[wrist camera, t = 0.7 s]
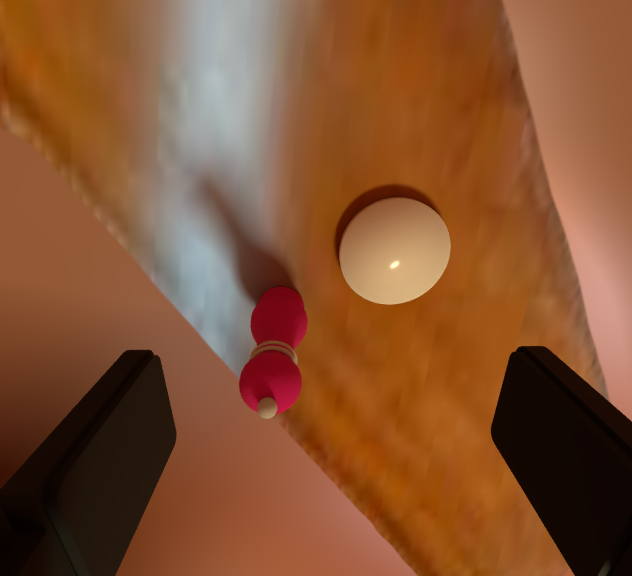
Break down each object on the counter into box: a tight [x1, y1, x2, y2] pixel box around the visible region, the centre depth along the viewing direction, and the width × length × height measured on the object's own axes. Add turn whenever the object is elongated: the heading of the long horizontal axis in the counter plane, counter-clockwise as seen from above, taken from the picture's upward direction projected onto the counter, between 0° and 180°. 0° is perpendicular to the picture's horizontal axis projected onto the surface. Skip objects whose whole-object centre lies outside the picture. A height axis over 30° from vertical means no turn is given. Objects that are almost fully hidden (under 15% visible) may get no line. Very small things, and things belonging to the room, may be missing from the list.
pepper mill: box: [239, 287, 308, 419], centre depth 38 cm, size 7×7×20 cm
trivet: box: [339, 197, 451, 304], centre depth 44 cm, size 14×14×2 cm
